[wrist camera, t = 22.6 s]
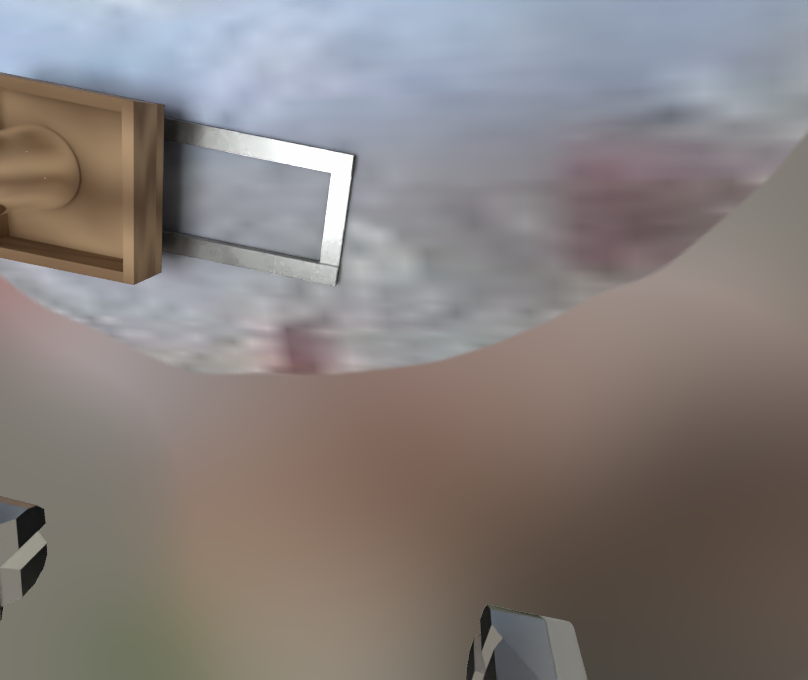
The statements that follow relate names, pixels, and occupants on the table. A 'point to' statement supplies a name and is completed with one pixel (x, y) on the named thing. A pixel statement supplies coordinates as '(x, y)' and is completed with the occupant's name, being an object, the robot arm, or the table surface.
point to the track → (282, 153)
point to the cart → (92, 182)
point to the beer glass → (36, 169)
